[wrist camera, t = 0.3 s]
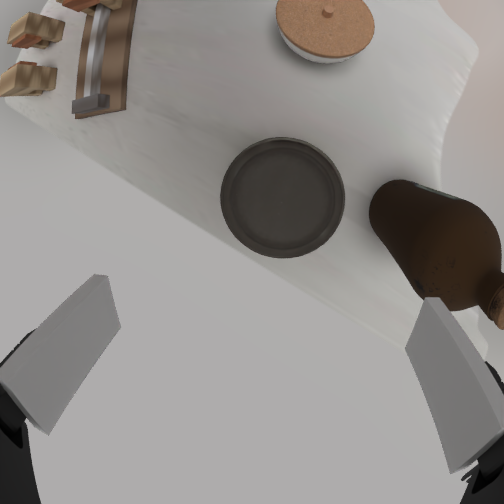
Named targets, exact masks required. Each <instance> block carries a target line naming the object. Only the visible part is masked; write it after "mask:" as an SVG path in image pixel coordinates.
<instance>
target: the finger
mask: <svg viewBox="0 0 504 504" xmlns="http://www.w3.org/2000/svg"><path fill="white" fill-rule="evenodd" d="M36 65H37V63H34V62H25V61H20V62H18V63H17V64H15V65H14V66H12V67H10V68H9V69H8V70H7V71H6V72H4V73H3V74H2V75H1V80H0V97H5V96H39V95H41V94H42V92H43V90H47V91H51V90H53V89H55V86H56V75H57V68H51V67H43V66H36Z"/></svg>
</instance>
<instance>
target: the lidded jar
mask: <svg viewBox="0 0 504 504" xmlns="http://www.w3.org/2000/svg"><path fill="white" fill-rule="evenodd" d="M276 19H277V23H278V27H279V31H280V33H281V35H282V38H283V39H284V41H285V42H286V44H287V45H288V46H289V47H290V48H291V49H292V50H293V51H294V52H295V53H297V54H298V55H300V56H301V57H303V58H305V59H308V60H310V61H313V62H318V63H337V62H341V61H345V60H347V59H349V58H351V57H353V56H354V55H356V54H357V53H359V52H360V51H362V50H363V49H364V48H365V47H366V46H367V45H368V44H369V43H370V41H371V39H372V37H373V34H374V28H375V26H374V20H373V16H372V14H371V12H370V10H369V8H368V7H367V5H366V4H365V3H364V2H363V1H362V0H279V1H278V3H277V7H276Z"/></svg>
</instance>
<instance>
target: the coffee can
mask: <svg viewBox="0 0 504 504" xmlns="http://www.w3.org/2000/svg"><path fill="white" fill-rule="evenodd" d="M220 200H221V208H222V212H223V216H224V219H225V221H226V223H227V225H228V227H229V229H230V230H231V232H232V233H233V235H234V236H235V237H236V238H237V239H238V240H239V241H240V242H241V243H242V244H244V245H245V246H246V247H248V248H249V249H251V250H253V251H254V252H257V253H259V254H261V255H264V256H268V257H273V258H293V257H299V256H302V255H305V254H308V253H310V252H312V251H314V250H316V249H317V248H319V247H320V246H322V245H323V244H324V243H325V242H327V241H328V239H329V238H330V237H331V236H332V235H333V234H334V232H335V231H336V229H337V227H338V225H339V223H340V221H341V219H342V216H343V212H344V206H345V191H344V185H343V181H342V178H341V176H340V174H339V171H338V170H337V168H336V166H335V165H334V163H333V162H332V161H331V159H330V158H329V157H328V156H327V155H326V154H325V153H323V152H322V151H321V150H320V149H318V148H317V147H315V146H313V145H312V144H310V143H308V142H305V141H302V140H299V139H294V138H287V137H276V138H269V139H265V140H262V141H259V142H257V143H255V144H253V145H251V146H249V147H248V148H246V149H245V150H244V151H242V152H241V153H240V154H239V155H238V156H237V157H236V158H235V159H234V160H233V162H232V163H231V165H230V166H229V168H228V170H227V171H226V174H225V176H224V179H223V182H222V186H221V194H220Z"/></svg>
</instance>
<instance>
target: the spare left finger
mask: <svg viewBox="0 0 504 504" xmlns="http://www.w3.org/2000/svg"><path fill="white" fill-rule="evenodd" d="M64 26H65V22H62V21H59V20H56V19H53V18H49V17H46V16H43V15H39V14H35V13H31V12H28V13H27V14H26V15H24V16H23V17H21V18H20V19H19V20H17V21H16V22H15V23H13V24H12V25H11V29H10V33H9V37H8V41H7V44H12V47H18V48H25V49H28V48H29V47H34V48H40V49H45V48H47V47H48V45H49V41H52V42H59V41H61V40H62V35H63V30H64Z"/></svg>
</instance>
